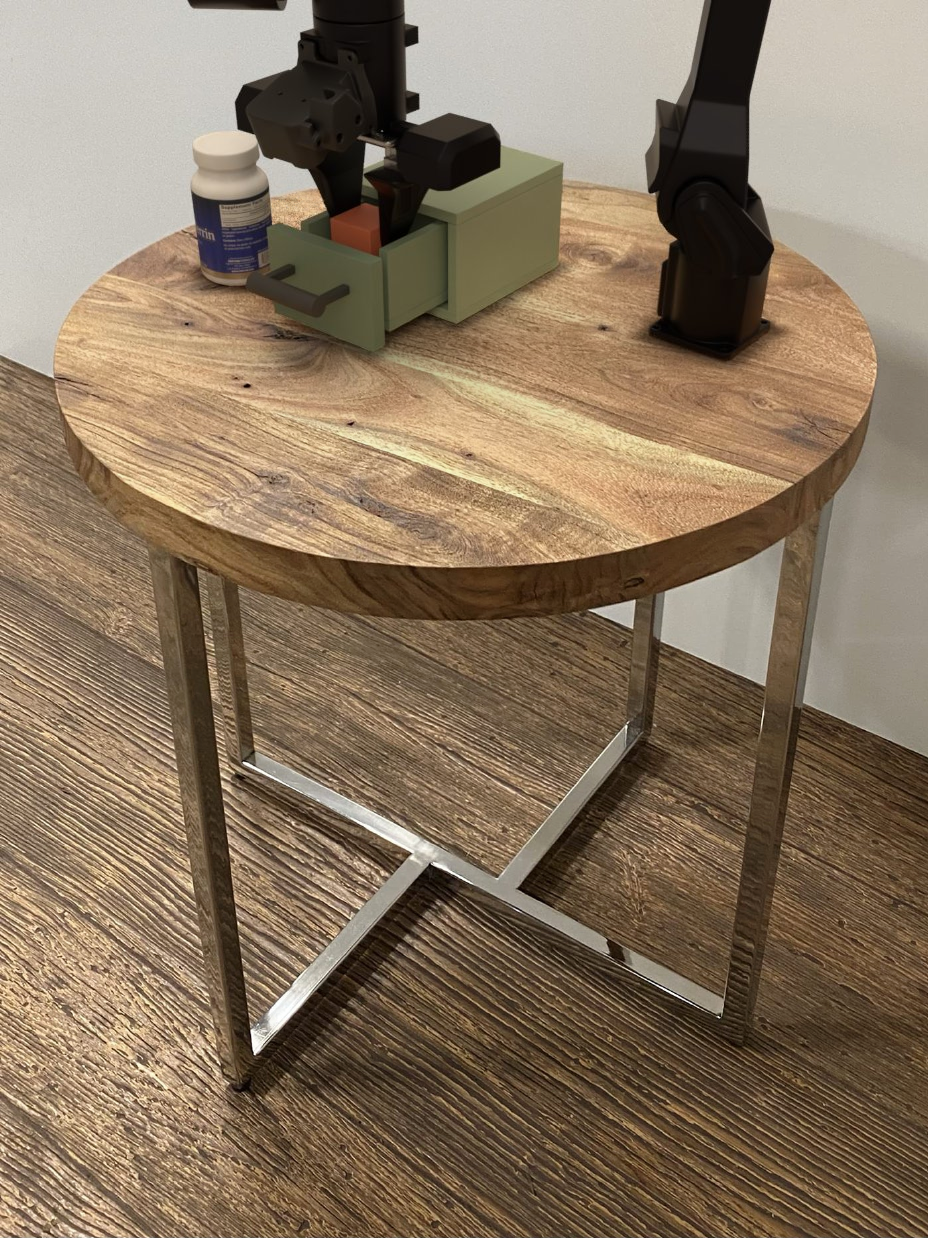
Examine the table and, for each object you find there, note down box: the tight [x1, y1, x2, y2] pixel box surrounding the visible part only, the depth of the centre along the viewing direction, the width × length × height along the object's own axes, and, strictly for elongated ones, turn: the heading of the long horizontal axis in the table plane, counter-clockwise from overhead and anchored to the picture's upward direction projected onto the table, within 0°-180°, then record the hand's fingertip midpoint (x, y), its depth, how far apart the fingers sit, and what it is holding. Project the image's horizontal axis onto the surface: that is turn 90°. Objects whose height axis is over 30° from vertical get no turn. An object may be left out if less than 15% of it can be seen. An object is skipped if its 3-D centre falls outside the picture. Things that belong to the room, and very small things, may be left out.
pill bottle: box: [190, 130, 274, 287], centre depth 97 cm, size 6×6×10 cm
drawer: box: [245, 195, 448, 353], centre depth 91 cm, size 15×9×6 cm, turn 142°
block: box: [330, 203, 382, 257], centre depth 90 cm, size 4×4×4 cm
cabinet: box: [361, 144, 564, 325], centre depth 97 cm, size 13×11×8 cm
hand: (369, 252), depth 91 cm, fingers closed on block, 3 cm apart
